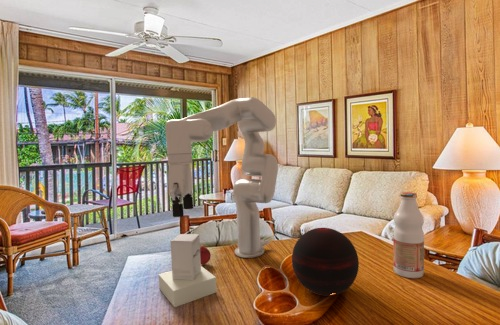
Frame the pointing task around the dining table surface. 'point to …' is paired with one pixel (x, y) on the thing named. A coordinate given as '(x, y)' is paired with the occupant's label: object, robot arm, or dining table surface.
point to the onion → (204, 255)
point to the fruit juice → (408, 238)
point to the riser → (187, 287)
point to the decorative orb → (325, 261)
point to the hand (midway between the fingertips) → (183, 212)
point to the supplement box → (185, 256)
